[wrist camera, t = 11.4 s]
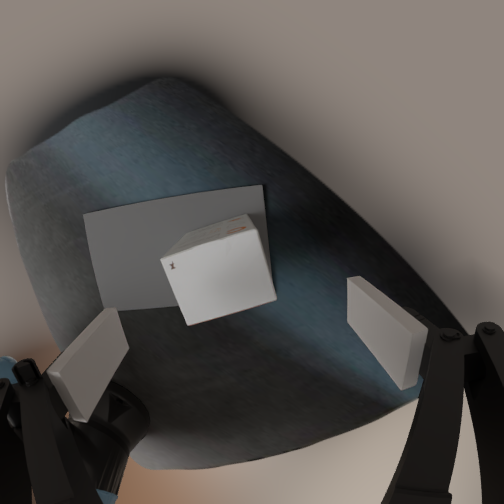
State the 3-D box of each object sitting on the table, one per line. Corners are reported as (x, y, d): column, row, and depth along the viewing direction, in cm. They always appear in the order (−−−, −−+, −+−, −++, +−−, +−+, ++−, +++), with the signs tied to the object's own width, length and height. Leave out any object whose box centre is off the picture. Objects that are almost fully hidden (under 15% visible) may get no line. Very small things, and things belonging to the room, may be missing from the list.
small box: (201, 280, 35) (185, 328, 22) (184, 232, 34) (157, 258, 21) (263, 261, 35) (279, 301, 22) (248, 212, 34) (256, 226, 21)
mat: (106, 310, 36) (105, 311, 35) (85, 213, 33) (83, 214, 32) (273, 292, 37) (273, 294, 36) (261, 184, 34) (262, 184, 33)
